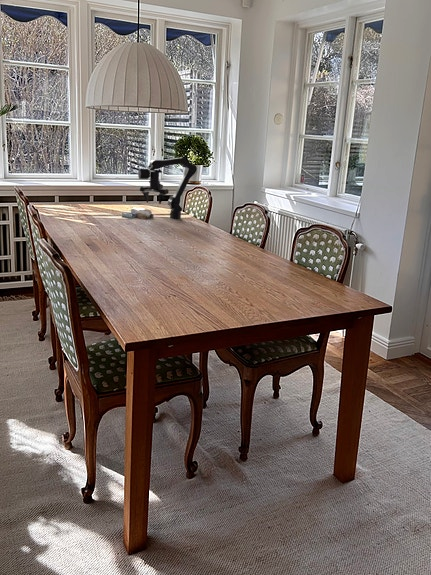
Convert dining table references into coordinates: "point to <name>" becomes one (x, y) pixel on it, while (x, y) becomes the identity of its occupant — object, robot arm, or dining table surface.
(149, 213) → the silver metal tumbler
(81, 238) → the dining table surface
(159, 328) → the dining table surface
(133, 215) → the v block
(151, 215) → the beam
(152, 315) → the dining table surface
